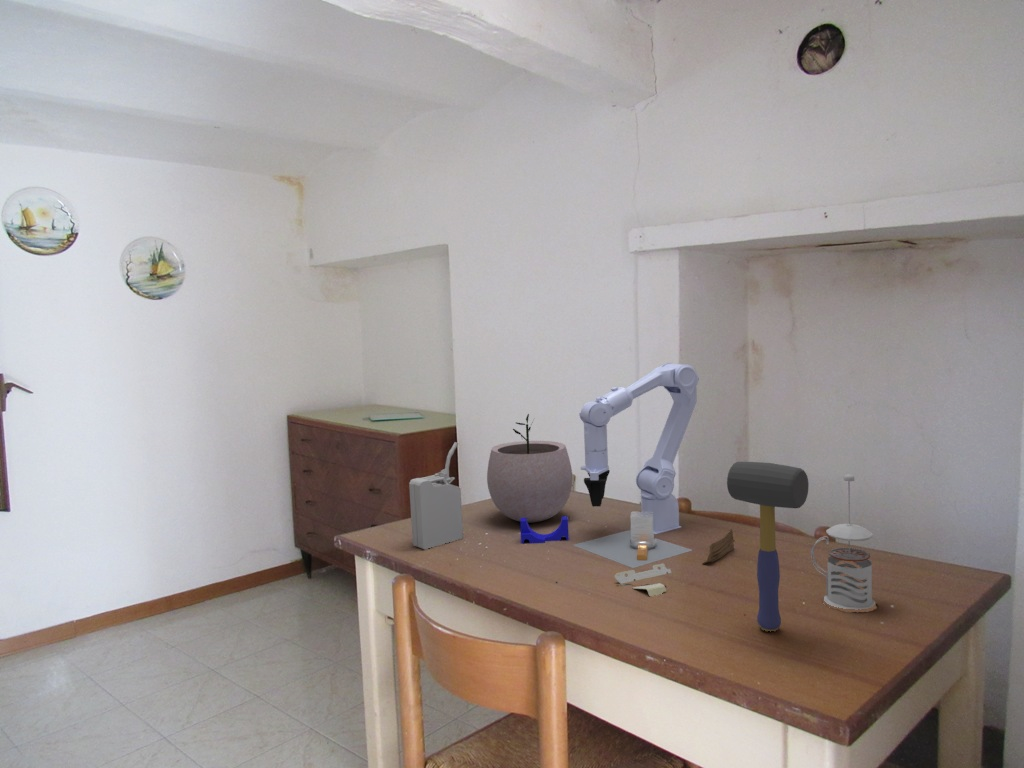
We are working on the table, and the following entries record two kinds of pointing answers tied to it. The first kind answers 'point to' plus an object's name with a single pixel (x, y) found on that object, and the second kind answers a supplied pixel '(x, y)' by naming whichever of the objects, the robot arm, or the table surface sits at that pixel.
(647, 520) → the brushed metal cube
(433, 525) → the jerry can
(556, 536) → the cable clip
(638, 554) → the scoop
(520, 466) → the plant pot
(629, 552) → the mat
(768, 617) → the rubber mallet
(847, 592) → the french press
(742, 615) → the table surface
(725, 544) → the wood plank
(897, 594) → the table surface
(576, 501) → the table surface
